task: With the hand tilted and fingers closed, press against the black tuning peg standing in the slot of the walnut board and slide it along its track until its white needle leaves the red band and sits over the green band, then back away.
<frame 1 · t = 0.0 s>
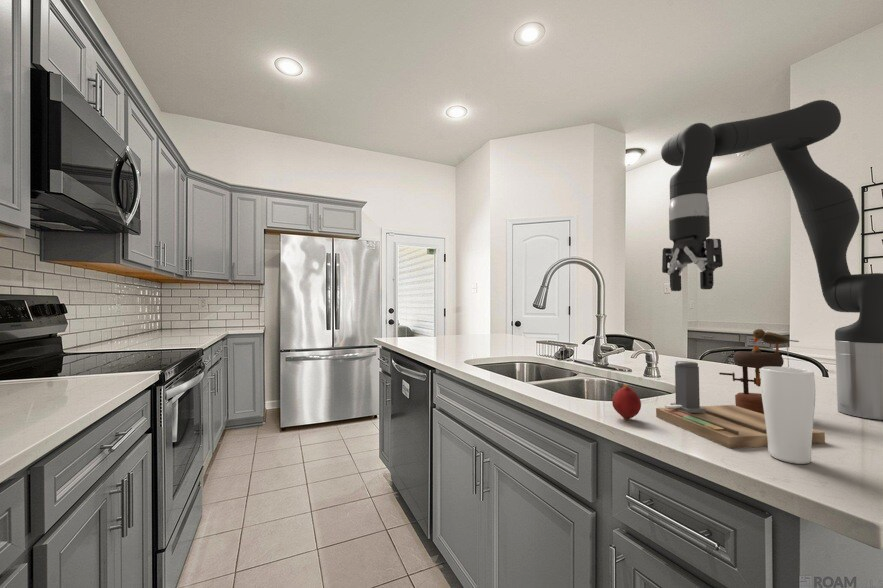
hand: (690, 290, 82), 29 cm above the worktop, tool pointing down, fingers open, 8 cm apart
peg slider: (681, 386, 83), point 8 cm above the worktop, slide at 0.0 cm
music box: (759, 413, 89), on the worktop
onion: (626, 420, 83), on the worktop
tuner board: (731, 428, 77), on the worktop
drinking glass: (789, 459, 62), on the worktop
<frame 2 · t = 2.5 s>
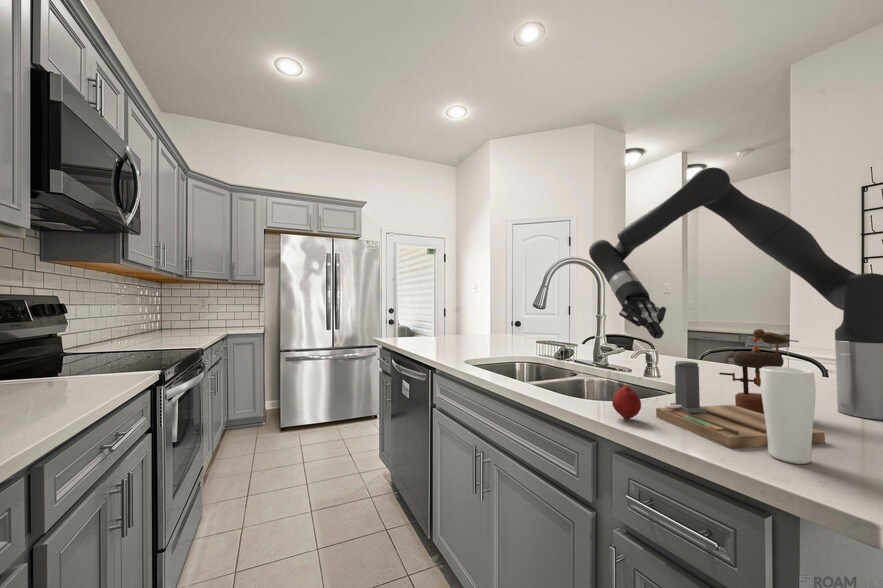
hand: (659, 336, 92), 18 cm above the worktop, tool tilted 45°, fingers closed
nothing on the worktop moved.
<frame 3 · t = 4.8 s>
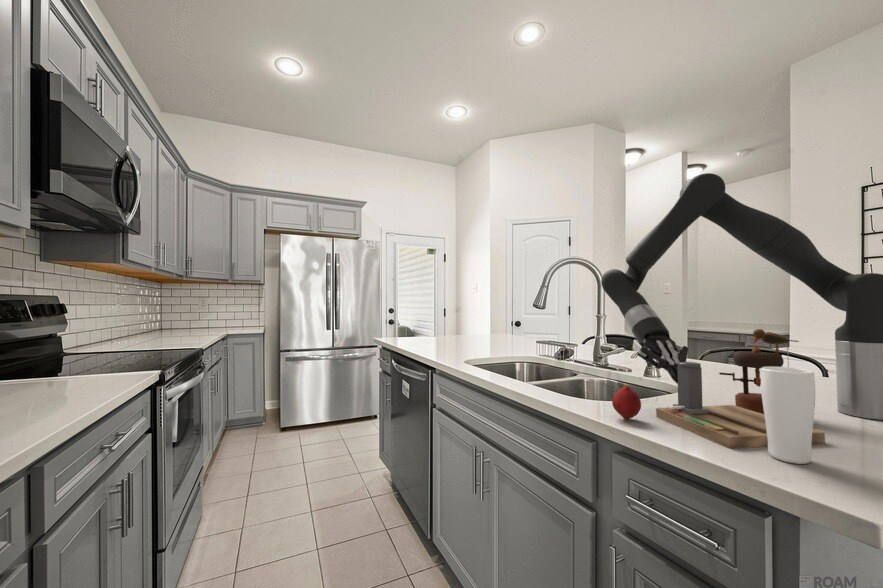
hand: (682, 381, 85), 8 cm above the worktop, tool tilted 45°, fingers closed
peg slider: (683, 386, 82), point 8 cm above the worktop, slide at 0.7 cm, touching gripper
everything else where it was.
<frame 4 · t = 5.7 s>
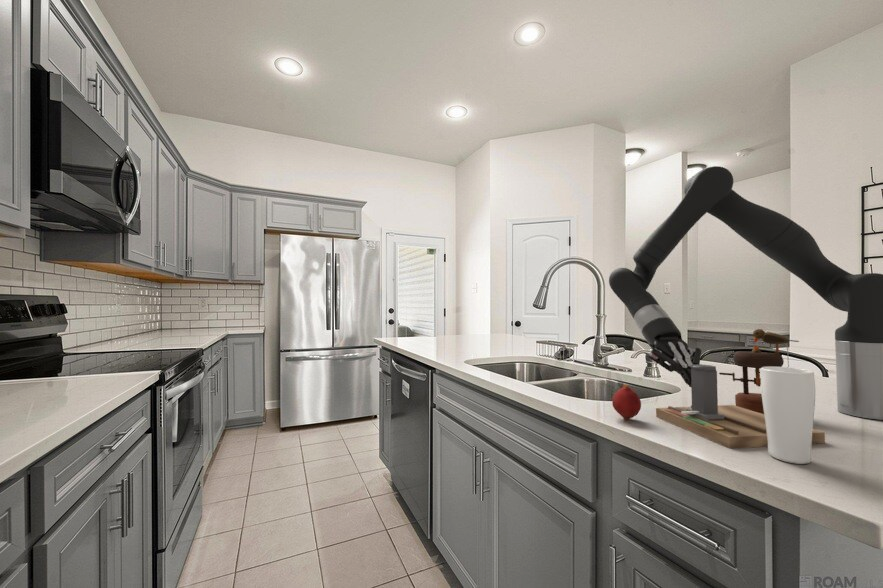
hand: (696, 385, 81), 8 cm above the worktop, tool tilted 45°, fingers closed
peg slider: (697, 390, 79), point 8 cm above the worktop, slide at 4.7 cm, touching gripper
everything else where it was.
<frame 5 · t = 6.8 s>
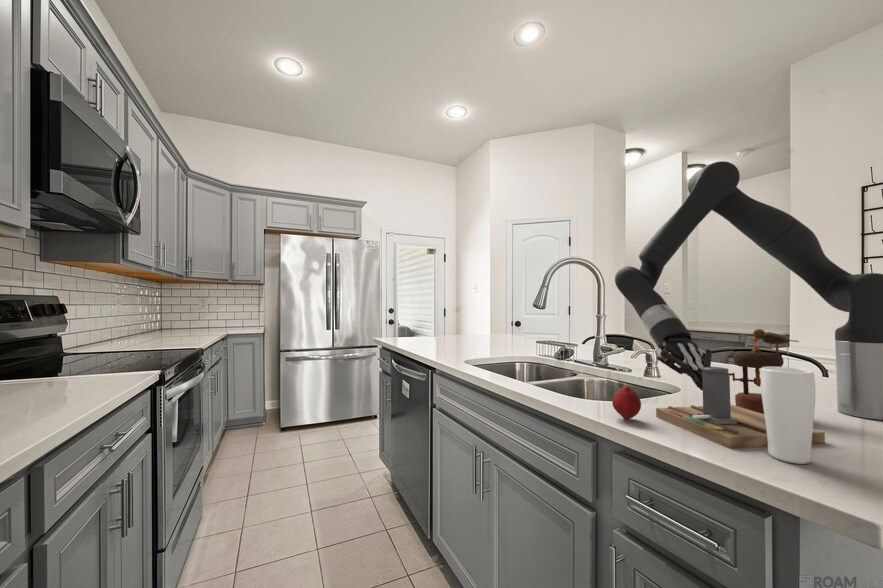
hand: (707, 388, 78), 8 cm above the worktop, tool tilted 45°, fingers closed
peg slider: (709, 394, 76), point 8 cm above the worktop, slide at 7.6 cm, touching gripper
everything else where it was.
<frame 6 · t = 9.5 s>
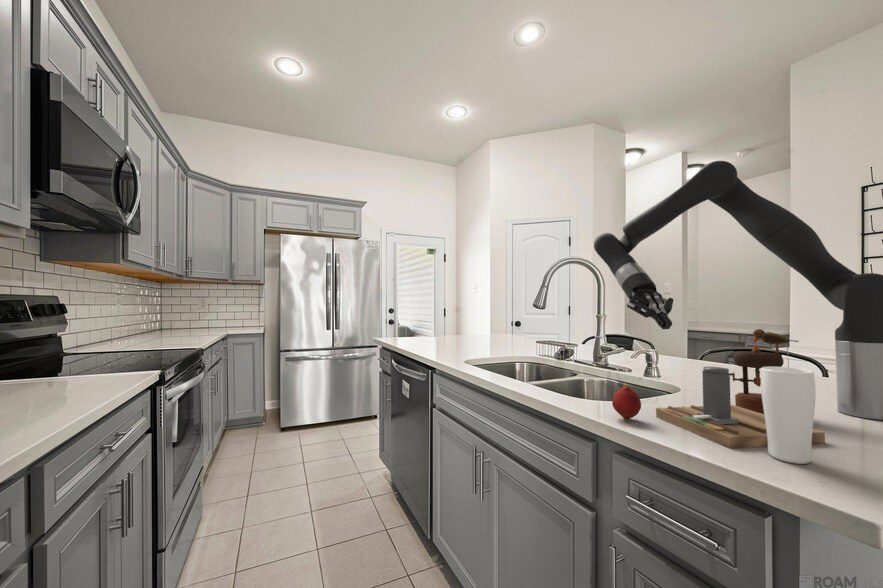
hand: (667, 327, 92), 20 cm above the worktop, tool tilted 45°, fingers closed
peg slider: (709, 394, 76), point 8 cm above the worktop, slide at 7.7 cm
everything else where it was.
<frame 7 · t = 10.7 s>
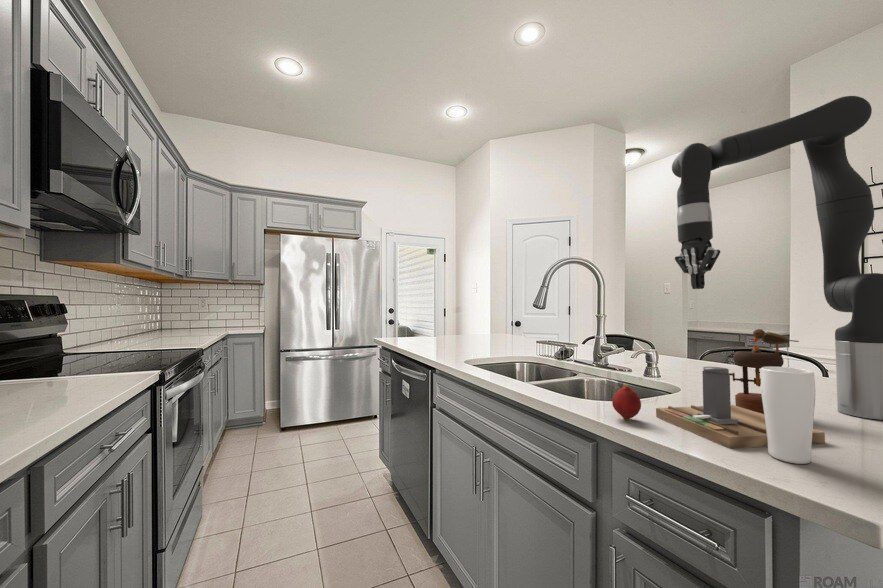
hand: (698, 288, 96), 30 cm above the worktop, tool pointing down, fingers closed
nothing on the worktop moved.
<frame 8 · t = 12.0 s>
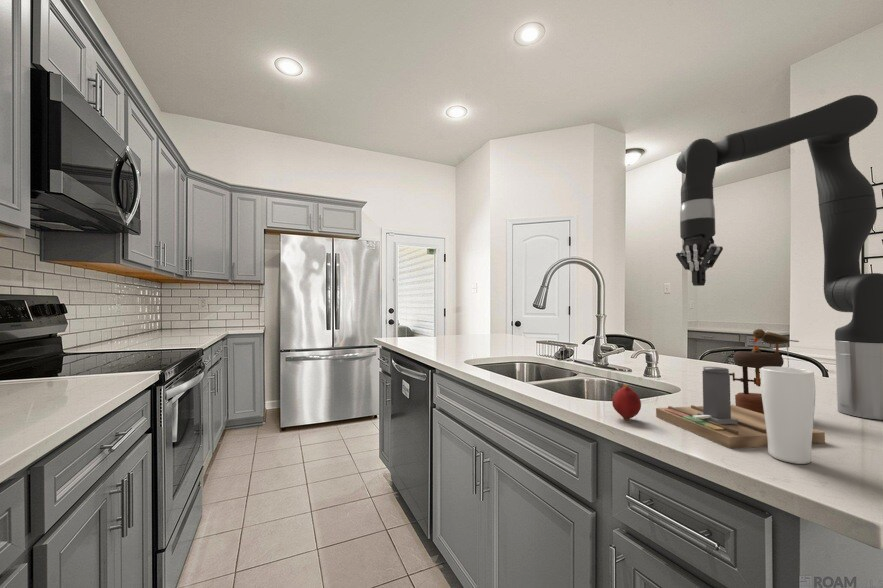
hand: (698, 285, 96), 31 cm above the worktop, tool pointing down, fingers closed
nothing on the worktop moved.
at the end: peg slider slide at 7.7 cm; the gripper is holding nothing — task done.
